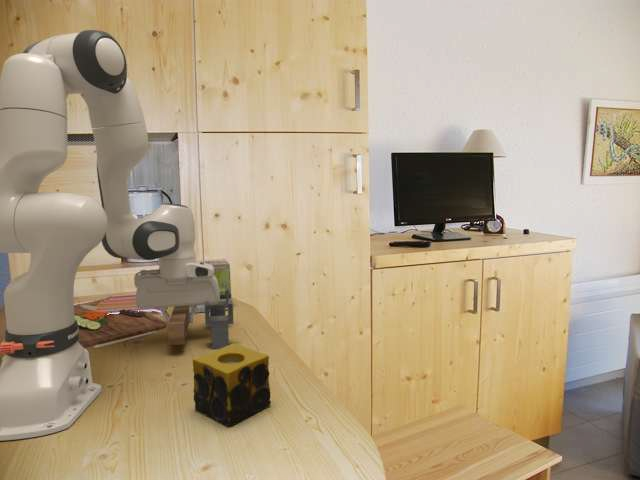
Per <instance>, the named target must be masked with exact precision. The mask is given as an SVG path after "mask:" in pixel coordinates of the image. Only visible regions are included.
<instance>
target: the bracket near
mask: <svg viewBox="0 0 640 480" xmlns="http://www.w3.org/2000/svg"><path fill="white" fill-rule="evenodd" d="M204 316H205V317H204V319H205V320H204V321H205V327H207V326H210V325H211V327H210V336H211V337H210V338H211V339H210V340H211V350H218V349H221V348H223V347H226V346H228V345H230V344H229V343H230V342H229V325H232V324H233V325H234V302H233V298H231V300H228V310H227V314H225V316H212V317H210V311H209V301H205V312H204Z"/></svg>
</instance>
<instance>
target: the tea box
mask: <svg viewBox="0 0 640 480" xmlns="http://www.w3.org/2000/svg"><path fill="white" fill-rule="evenodd" d="M199 261H200V262H203V263H207V264H211V265H213V267H214V274H213V275H215V277H216V278H217V281H218V285H219V292H220V301H225V287H229V292H230V300H231V299H232V287H231V286H232V285H231V264H230V263H229V262H228V260H227V259H226V258H217V259H206V260H199ZM226 310H227V311H228V308H225V311H226ZM189 312H190V314H191V312H192V310H191V306H189ZM209 312H210V309H209ZM197 313H198V314H199V313H205V305H197V310H196V312H195V313H194V314H197Z"/></svg>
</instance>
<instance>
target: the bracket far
mask: <svg viewBox="0 0 640 480" xmlns="http://www.w3.org/2000/svg"><path fill="white" fill-rule="evenodd" d="M228 300H230V292H229V287H225V301H219V303H218V304H216V305H209V309H210V311H209V317H212V316H225V315H226V310H225V308H228ZM210 328H211V325H210Z"/></svg>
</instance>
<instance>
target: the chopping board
mask: <svg viewBox="0 0 640 480" xmlns="http://www.w3.org/2000/svg"><path fill="white" fill-rule="evenodd" d="M106 299H107V298H105V299H99V300H96V299H94V300H89V301H81V302H76V303H74V316H75V320H77V323H78V327H79V339H78V342H79V343H80V345H81V346H82V347H84V348H85V349H87V348H89V347H92V349H93V350H95V349H99V348H103V347H107V346H111V345H114V344H119V343H123V342H127V341H131V340H136V339H139V338H143V337H147V336H151V335H156V334H157V331H160V329H161V330H163V328H164V329H165V328H166V327H168V324H166V320H162V319H160V318H158V317H156V316H154V315H152V314H150V313H148V312H146V311H144V310H142V311H139V312H138V311H132V310H125V309H123V310H120V311H118V312H120V313H119V314H109V315H107V314H108V312H100V311H94V310H95V309H96V308H97V305H98V304H99V303H100V302H101V301H104V300H106ZM116 312H117V311H116ZM110 313H112V312H110ZM156 330H157V331H156ZM152 331H153V332H152ZM155 333H156V334H155Z"/></svg>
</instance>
